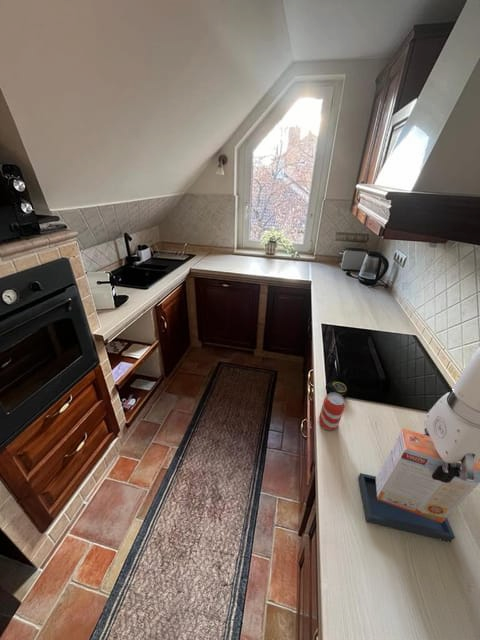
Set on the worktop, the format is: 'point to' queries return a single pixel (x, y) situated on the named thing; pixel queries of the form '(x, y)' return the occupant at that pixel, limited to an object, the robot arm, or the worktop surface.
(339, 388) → the tape measure
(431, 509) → the cracker box
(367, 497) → the tray
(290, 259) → the worktop surface
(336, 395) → the beverage can
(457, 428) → the robot arm
